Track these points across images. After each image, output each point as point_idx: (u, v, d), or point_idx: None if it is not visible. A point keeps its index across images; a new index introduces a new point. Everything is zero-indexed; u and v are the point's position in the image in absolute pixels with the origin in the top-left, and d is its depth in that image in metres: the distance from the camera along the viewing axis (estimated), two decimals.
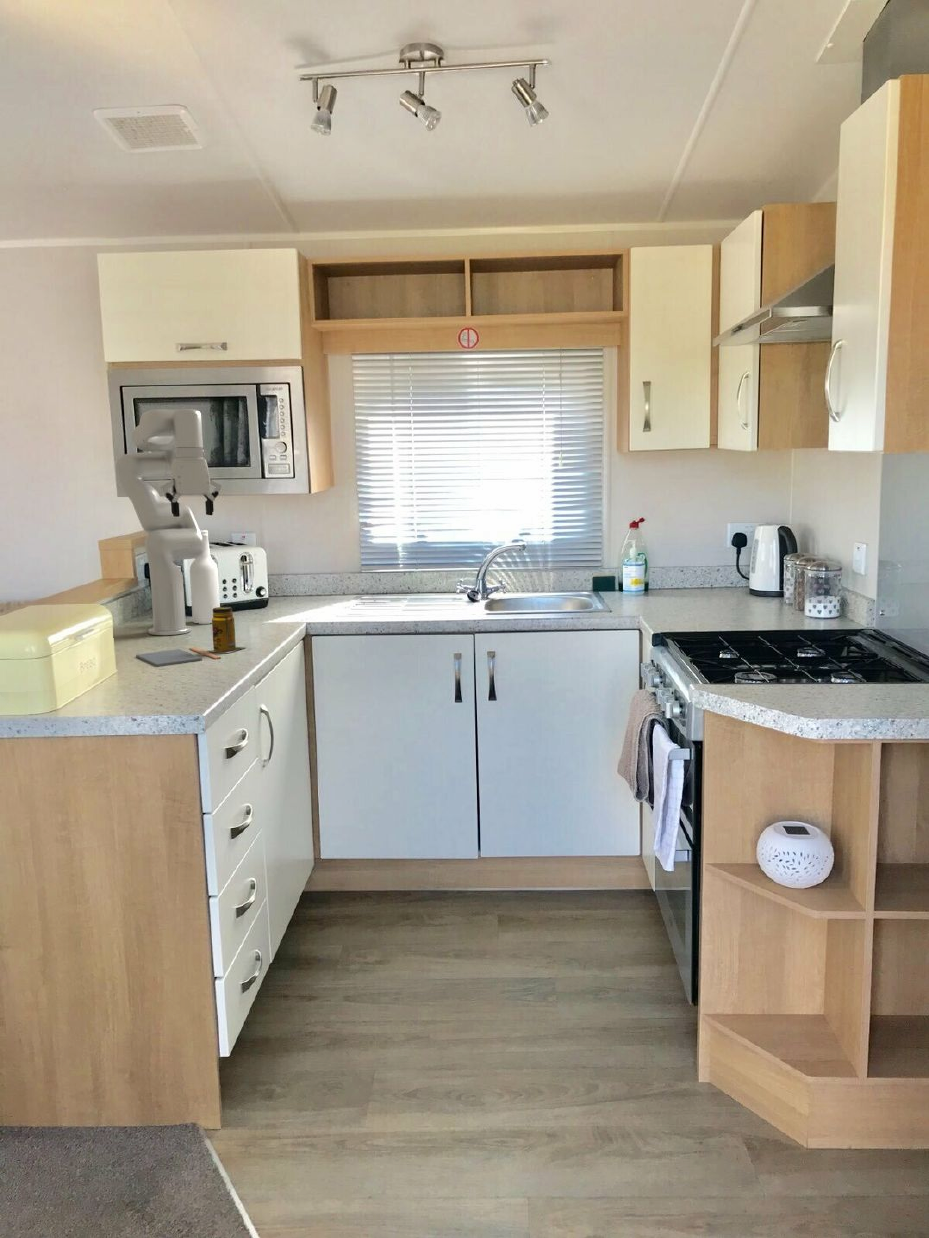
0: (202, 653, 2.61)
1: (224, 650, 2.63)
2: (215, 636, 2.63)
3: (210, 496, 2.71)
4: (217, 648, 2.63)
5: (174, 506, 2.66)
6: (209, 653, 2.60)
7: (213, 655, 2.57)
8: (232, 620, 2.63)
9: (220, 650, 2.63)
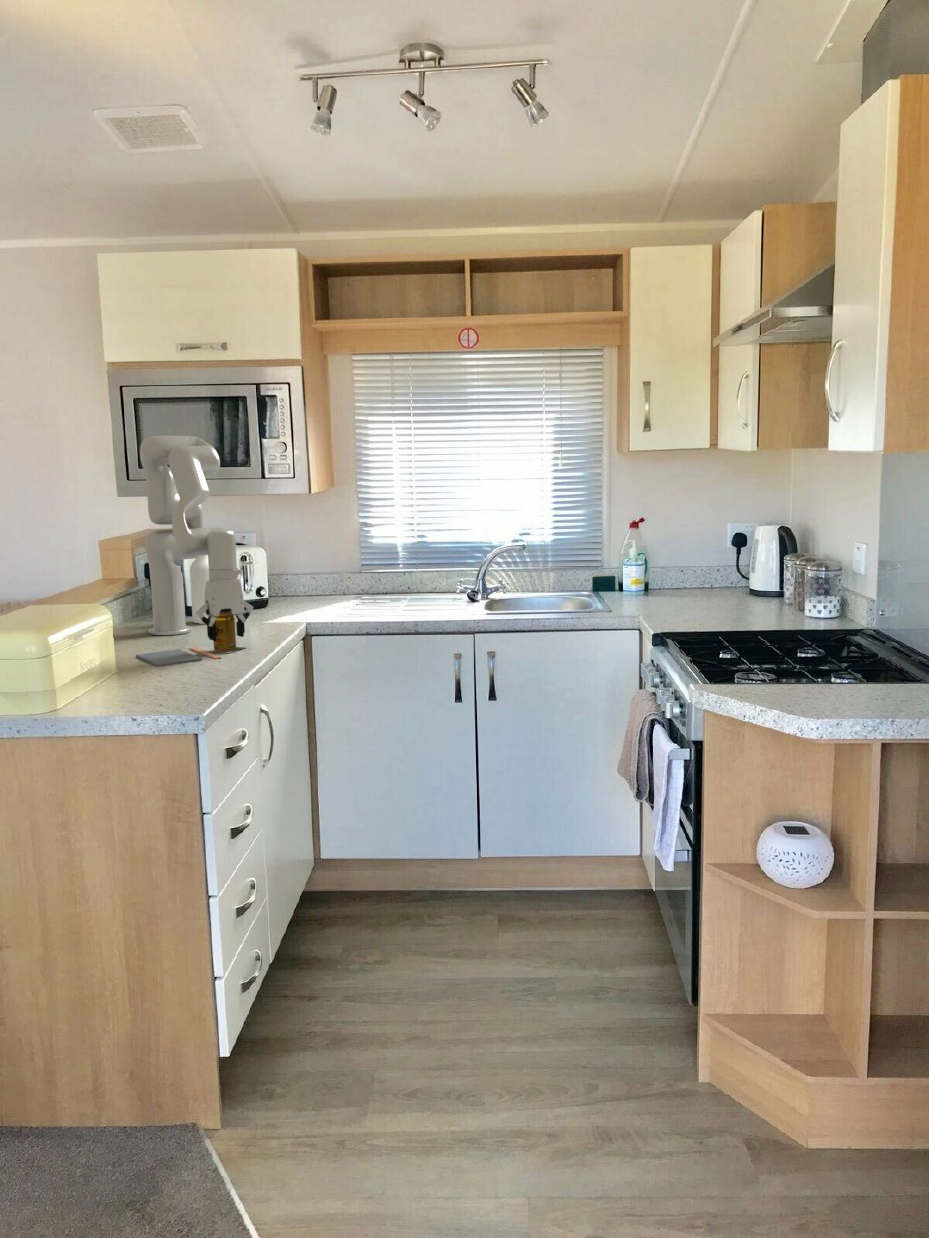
0: (202, 653, 2.61)
1: (224, 650, 2.63)
2: None
3: (242, 617, 2.66)
4: (217, 648, 2.63)
5: (210, 630, 2.62)
6: (209, 653, 2.60)
7: (213, 655, 2.57)
8: (232, 620, 2.63)
9: (220, 650, 2.63)
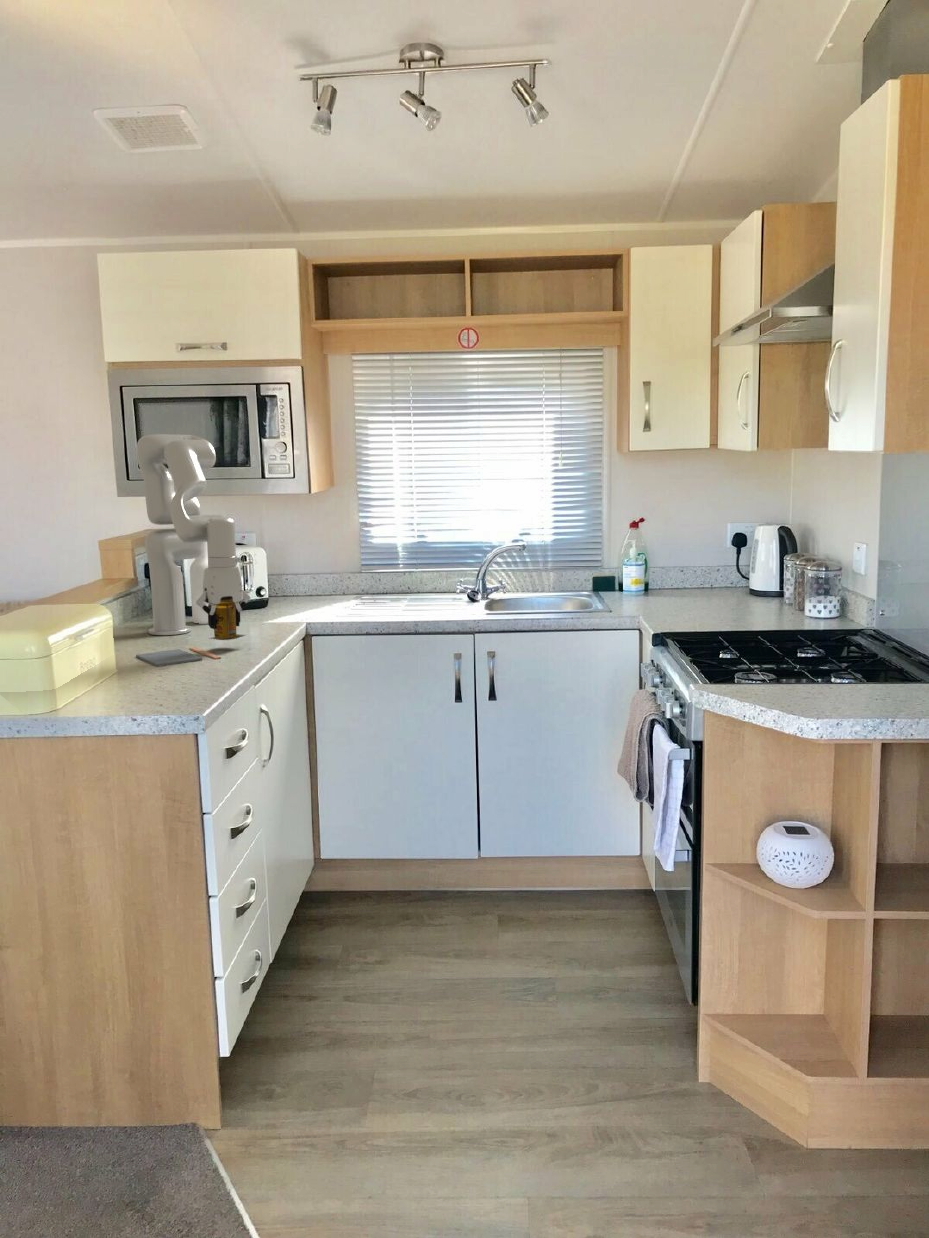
0: (202, 653, 2.61)
1: (225, 638, 2.63)
2: None
3: (238, 607, 2.66)
4: (218, 635, 2.63)
5: (211, 618, 2.62)
6: (209, 653, 2.60)
7: (213, 655, 2.57)
8: (233, 608, 2.64)
9: (221, 637, 2.63)
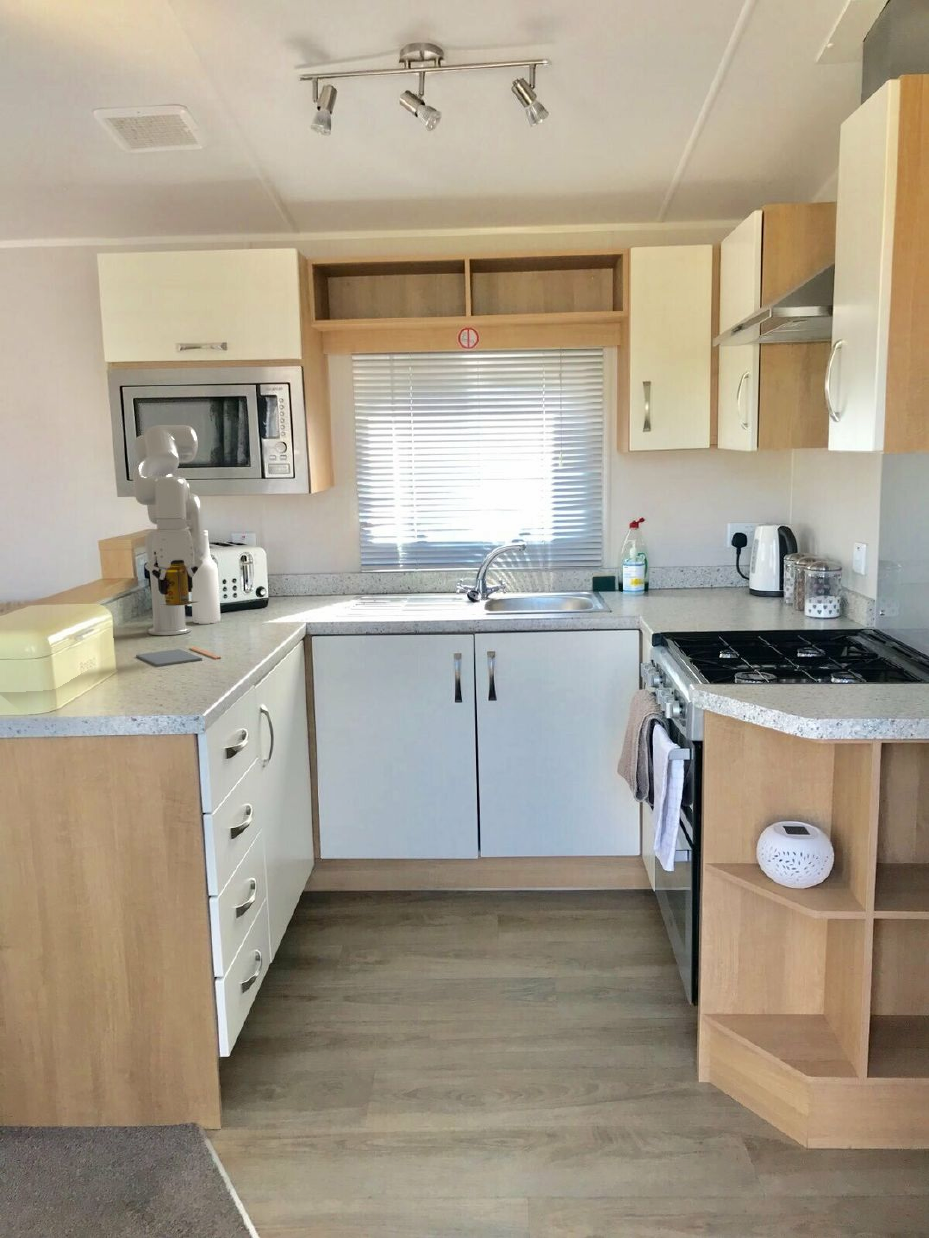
0: (202, 653, 2.61)
1: (176, 603, 2.52)
2: None
3: (190, 571, 2.55)
4: (169, 601, 2.52)
5: (161, 583, 2.51)
6: (209, 653, 2.60)
7: (213, 655, 2.57)
8: (185, 572, 2.53)
9: (172, 603, 2.52)
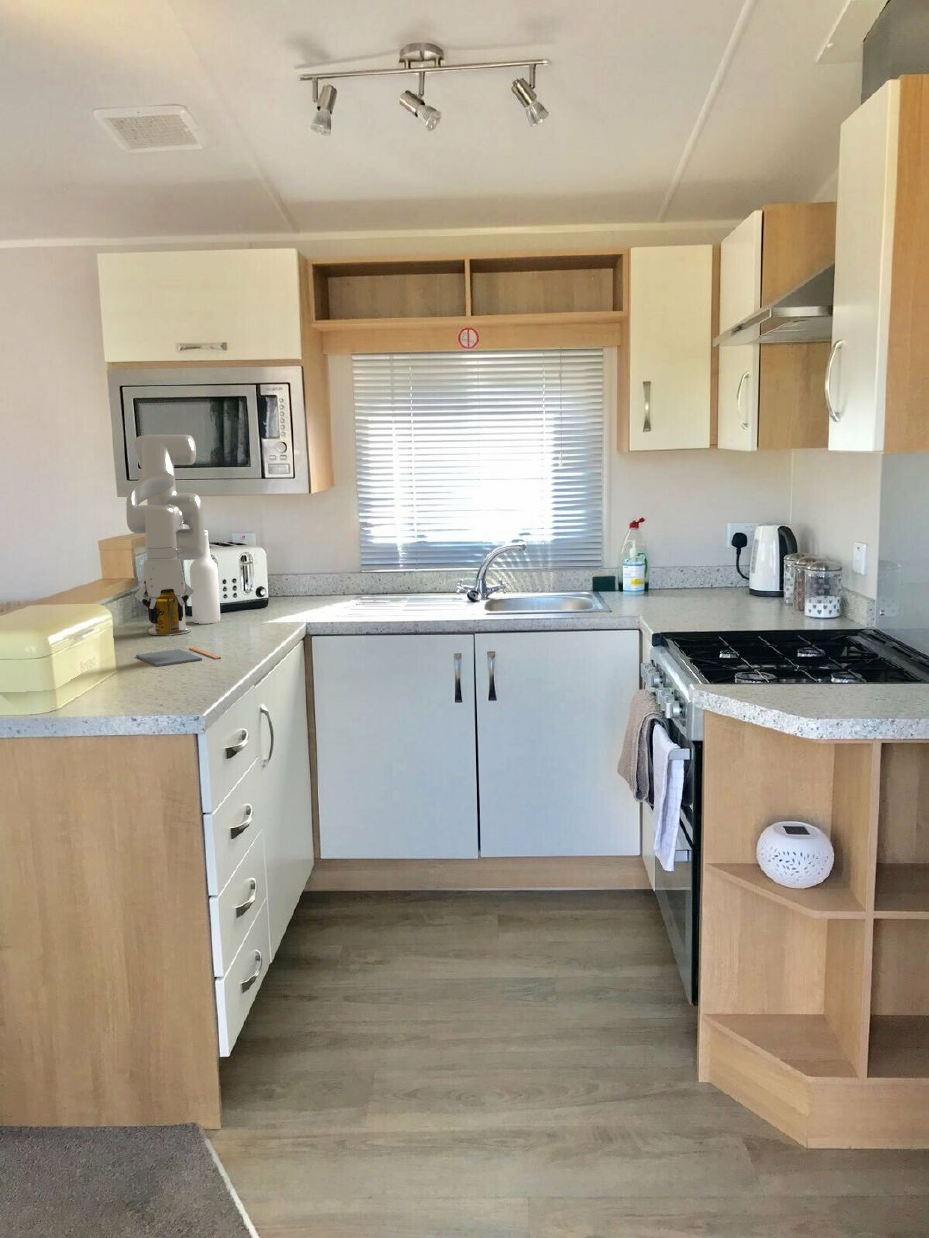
0: (202, 653, 2.61)
1: (166, 632, 2.51)
2: None
3: (180, 600, 2.54)
4: (159, 630, 2.51)
5: (151, 613, 2.50)
6: (209, 653, 2.60)
7: (213, 655, 2.57)
8: (175, 601, 2.52)
9: (162, 632, 2.51)
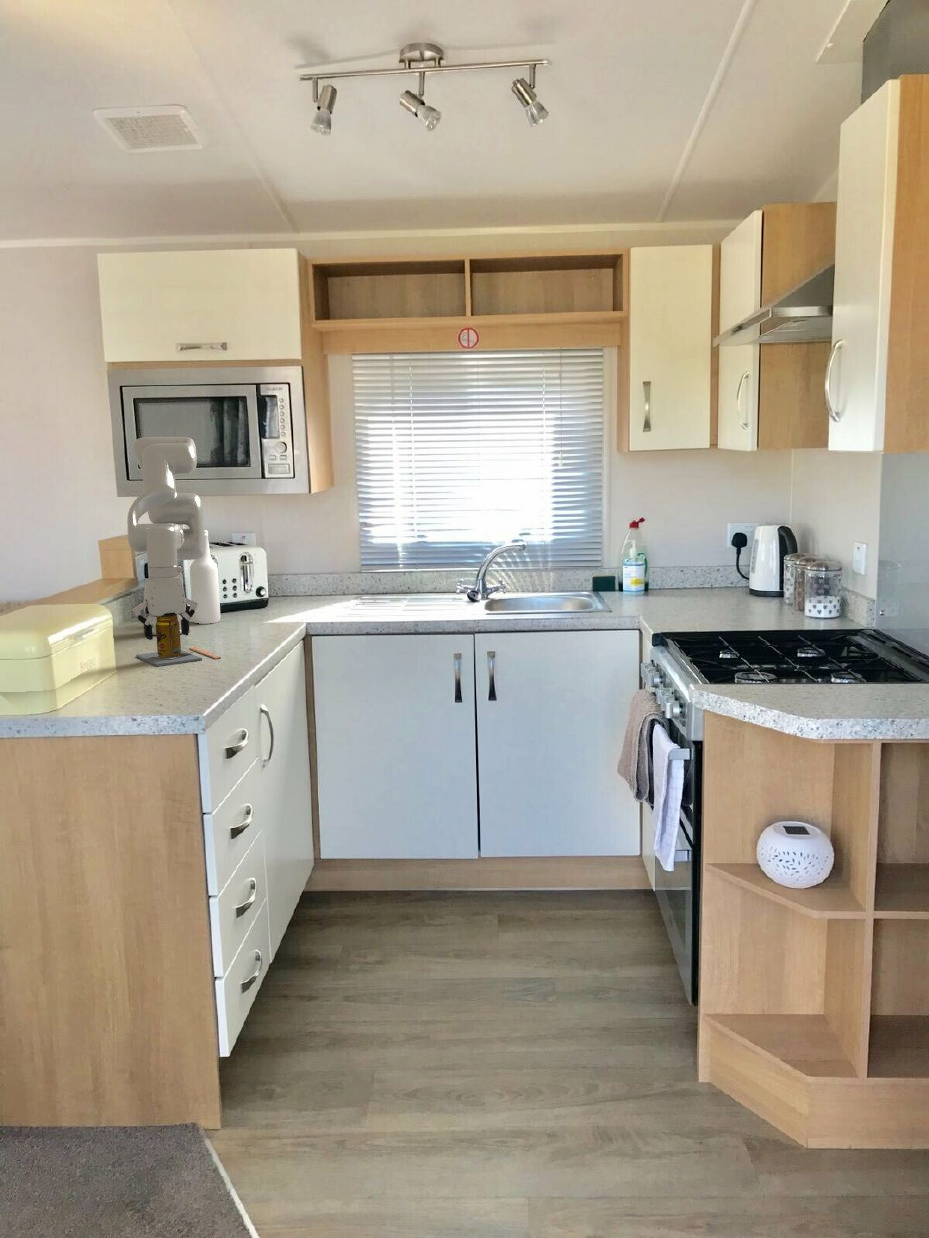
0: (202, 653, 2.61)
1: (168, 656, 2.52)
2: (158, 641, 2.52)
3: (186, 615, 2.55)
4: (161, 654, 2.53)
5: (147, 629, 2.50)
6: (209, 653, 2.60)
7: (213, 655, 2.57)
8: (176, 625, 2.53)
9: (164, 656, 2.52)
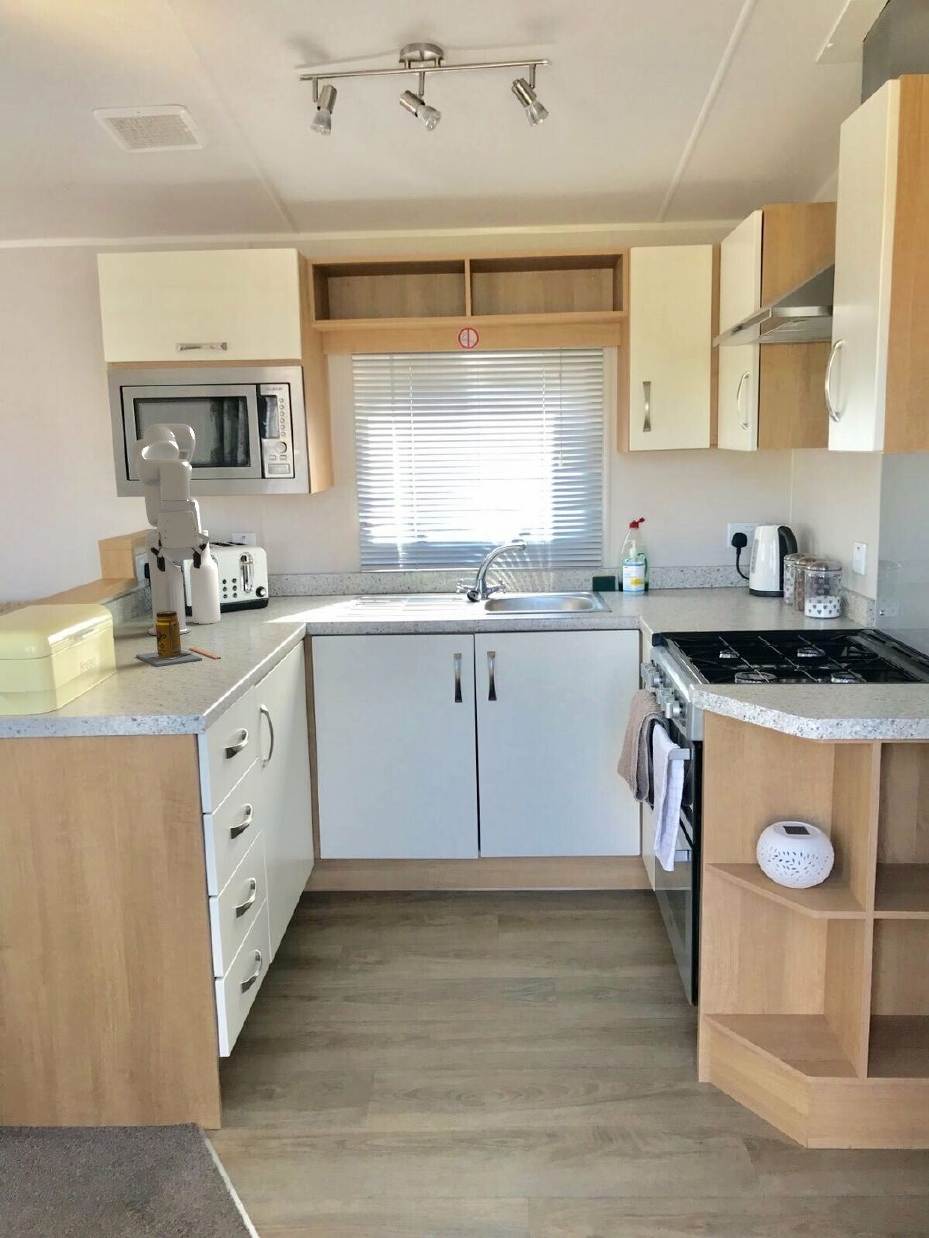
0: (202, 653, 2.61)
1: (168, 656, 2.52)
2: (158, 641, 2.52)
3: (197, 549, 2.62)
4: (161, 654, 2.53)
5: (160, 561, 2.57)
6: (209, 653, 2.60)
7: (213, 655, 2.57)
8: (176, 625, 2.53)
9: (164, 656, 2.52)
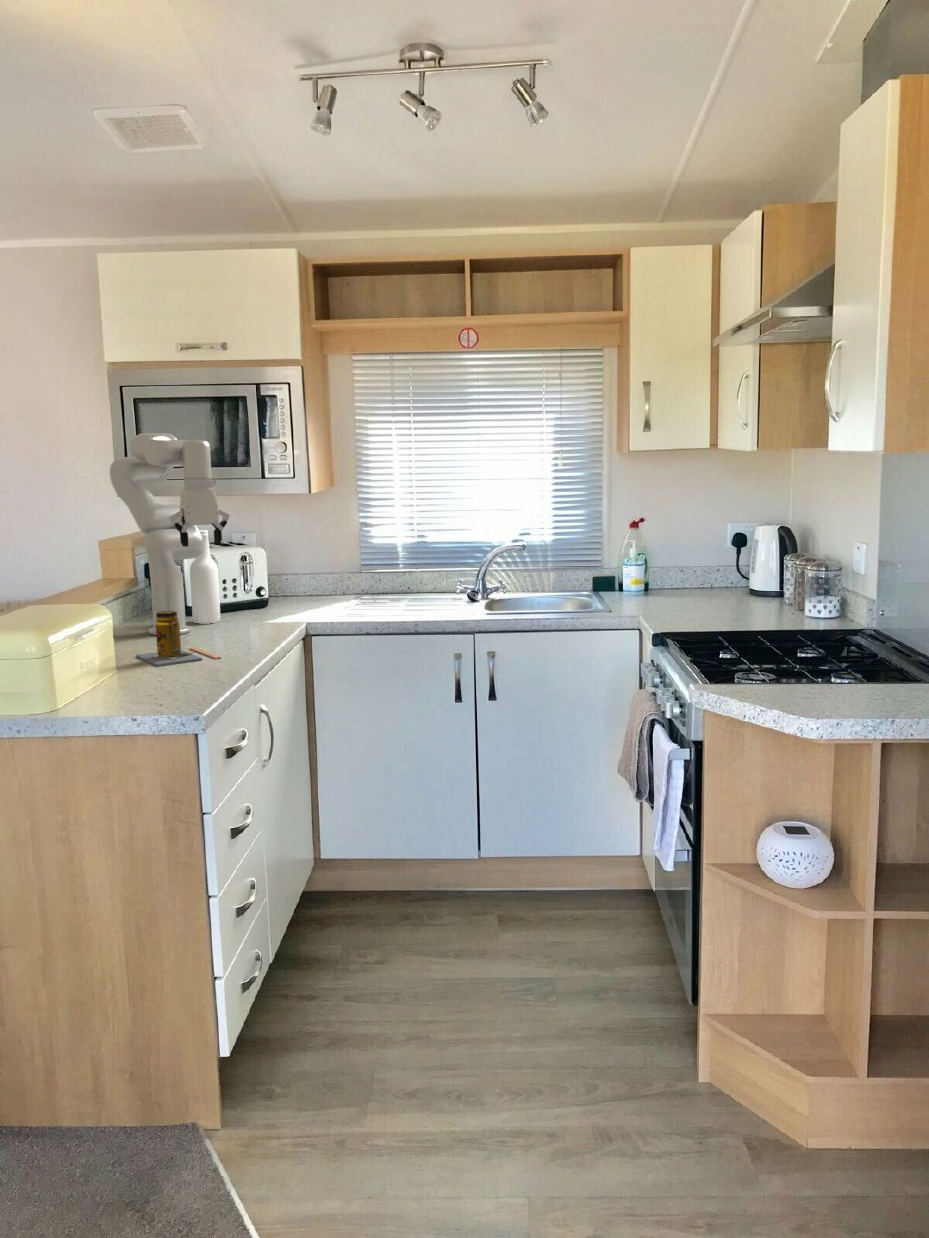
0: (202, 653, 2.61)
1: (168, 656, 2.52)
2: (158, 641, 2.52)
3: (218, 525, 2.74)
4: (161, 654, 2.53)
5: (183, 536, 2.68)
6: (209, 653, 2.60)
7: (213, 655, 2.57)
8: (176, 625, 2.53)
9: (164, 656, 2.52)
